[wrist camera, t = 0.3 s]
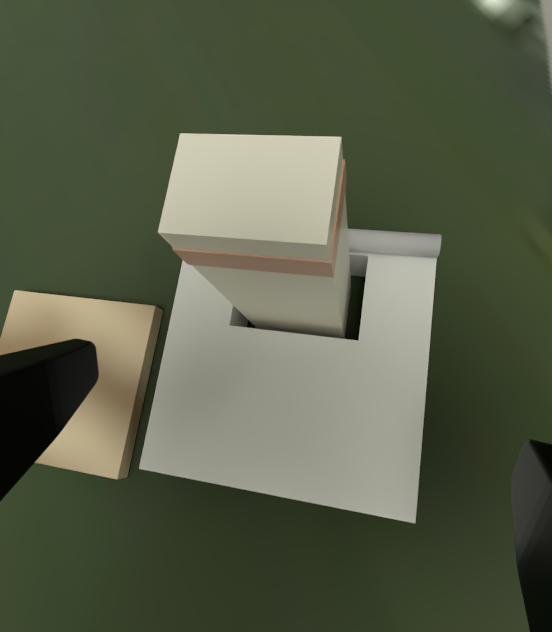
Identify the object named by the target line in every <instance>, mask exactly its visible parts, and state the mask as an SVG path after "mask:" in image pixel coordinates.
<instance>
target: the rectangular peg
mask: <svg viewBox="0 0 552 632" xmlns="http://www.w3.org/2000/svg"><path fill="white" fill-rule="evenodd" d="M345 189H346V168H345V160H343V153H342V139H341V137H323V136H275V135H227V134H180V137H179V141H178V146H177V150H176V155H175V159H174V163H173V168H172V172H171V177H170V181H169V185H168V190H167V194H166V199H165V203H164V208H163V212H162V216H161V221H160V225H159V230H158V233H159V234H160V235H161V236H162V237H163V238H164V239H165V240H166V241H167V242H168V243H169V244H170V245H171V246H172V247H173V251H174V252H175V253H176V254H177V255H178V256H179V257H180V258H181V259H182V260H184V261H185V262H186V263H187V264H188V265H192V266H193V267H194V268H195V269H196V270H197V271H198V272H199V273H200V274H201V275H202V276H203V277H204V278H205V279H207V280H208V281H209V282H210V283H211V284H212V285H213V286H214V287H215V288H216V289H217V290H218V291H219V292H220V293H221V294H222V295H223V296H224V297H225V298H226V299H227V300H228V301H229V302H230V303H231V304H232V305H234V306H235V307H236V308H237V309H238V310H239V311H240V312H241V313H242V314H243V315H244V316H245V317H246V318H247V319H248V320H249V321H250V322H251V323H252V324H253V325H254V326H255V327H256V328H257V329H264V330H272V331H281V332H289V333H298V334H307V335H315V336H324V337H332V338H341V339H345V333H346V325H347V317H348V309H349V301H350V293H351V272H350V257H349V242H348V227H347V213H346V198H345Z"/></svg>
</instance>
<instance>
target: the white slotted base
mask: <svg viewBox="0 0 552 632" xmlns="http://www.w3.org/2000/svg"><path fill="white" fill-rule="evenodd" d="M348 242H349V257H350V272H351V276H363V277H366V279H365V287H364V296H363V305H362V313H361V322H360V331H359V339H358V340H349V339H341V338H332V337H324V336H315V335H307V334H298V333H289V332H281V331H272V330H264V329H255V328H247V324H248V319H247V318H246V317H245V316H244V315H243V314H242V313H241V312H240V311H239V310H238V309H237V308H236V307H235V306H234V305H232V304H231V303H230V302H229V301H228V300H227V299H226V298H225V297H224V296H223V295H222V294H221V293H220V292H219V291H218V290H217V289H216V288H215V287H214V286H213V285H212V284H211V283H210V282H209V281H208V280H207V279H205V278H204V277H203V276H202V275H201V274H200V273H199V272H198V271H197V270H196V269H195V268H194V267H193V266H192V265H188V264H187V263H186V262H185V261H184V260H183V262H182V266H181V271H180V276H179V281H178V285H177V290H176V295H175V300H174V304H173V309H172V314H171V319H170V323H169V328H168V333H167V338H166V342H165V347H164V352H163V357H162V361H161V366H160V371H159V376H158V380H157V385H156V390H155V395H154V399H153V404H152V409H151V414H150V418H149V423H148V428H147V432H146V437H145V442H144V447H143V451H142V456H141V461H140V466H139V469H143V470H148V471H153V472H158V473H163V474H168V475H173V476H178V477H183V478H188V479H193V480H198V481H203V482H208V483H213V484H219V485H224V486H229V487H234V488H239V489H244V490H249V491H254V492H259V493H264V494H269V495H274V496H279V497H284V498H289V499H294V500H299V501H304V502H309V503H314V504H320V505H325V506H330V507H335V508H340V509H345V510H350V511H355V512H360V513H365V514H370V515H375V516H380V517H385V518H390V519H395V520H400V521H405V522H410V523H415V522H416V510H417V497H418V485H419V472H420V460H421V447H422V435H423V423H424V410H425V398H426V385H427V373H428V360H429V348H430V335H431V323H432V310H433V298H434V285H435V273H436V260H437V258H438V256H439V253H440V247H441V235H440V234H424V233H409V232H393V231H378V230H362V229H348Z"/></svg>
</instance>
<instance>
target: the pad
mask: <svg viewBox="0 0 552 632" xmlns="http://www.w3.org/2000/svg"><path fill="white" fill-rule="evenodd" d="M162 314H163V310H161V309H160V308H158V307H156V306H152V305H143V304H134V303H125V302H116V301H107V300H98V299H89V298H80V297H71V296H62V295H53V294H44V293H35V292H26V291H17V290H15V291H14V294H13V298H12V301H11V304H10V308H9V311H8V315H7V318H6V321H5V325H4V328H3V332H2V335H1V339H0V355H3V354H8V353H12V352H17V351H21V350H26V349H30V348H35V347H39V346H44V345H48V344H53V343H57V342H62V341H66V340H71V339H82V340H87V341H91V342H93V343H94V344H95V346H96V351H97V360H98V369H99V377H98V380H97V383H96V384H95V386H94V387H93V389H92V390H91V391H90V393H89V394H88V396H87V397H86V398H85V400H84V401H83V402H82V404H81V405H80V407H79V408H78V409H77V411H76V412H75V413H74V415H73V416H72V418H71V419H70V420H69V422H68V423H67V424H66V426H65V427H64V428H63V430H62V431H61V432H60V434H59V435H58V436H57V437H56V439H55V440H54V441H53V442H52V443H51V445H50V446H49V447H48V448H47V449H46V450H45V451H44V452H43V454H42V455H41V456H40V457H39V458H38V459H37V460H36V462H35V463H40V464H45V465H49V466H54V467H59V468H64V469H69V470H74V471H79V472H83V473H88V474H93V475H98V476H103V477H108V478H113V479H122V478H127V477H128V472H129V467H130V463H131V458H132V453H133V449H134V444H135V439H136V435H137V430H138V425H139V421H140V416H141V412H142V407H143V402H144V398H145V393H146V388H147V384H148V379H149V374H150V370H151V365H152V360H153V356H154V351H155V346H156V342H157V337H158V332H159V328H160V323H161V319H162Z"/></svg>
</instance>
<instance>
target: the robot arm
mask: <svg viewBox="0 0 552 632" xmlns="http://www.w3.org/2000/svg"><path fill="white" fill-rule="evenodd" d="M98 377H99V369H98V360H97V351H96V346H95V344H94V343H93V342H91V341H87V340H82V339H71V340H66V341H62V342H57V343H53V344H48V345H44V346H39V347H35V348H30V349H26V350H21V351H17V352H12V353H8V354H3V355H0V501H1V500H2V499H3V498H4V497H5V495H6V494H7V493H8V492H9V491H10V490H11V489H12V488H13V486H14V485H15V484H16V483H17V482H18V481H19V480H20V478H21V477H22V476H23V475H24V474H25V473H26V472H27V471H28V469H29V468H30V467H31V466H32V465H33V464H34V463H35V462H36V460H37V459H38V458H39V457H40V456H41V455H42V454H43V452H44V451H45V450H46V449H47V448H48V447H49V446H50V445H51V443H52V442H53V441H54V440H55V439H56V437H57V436H58V435H59V434H60V432H61V431H62V430H63V428H64V427H65V426H66V424H67V423H68V422H69V420H70V419H71V418H72V416H73V415H74V413H75V412H76V411H77V409H78V408H79V407H80V405H81V404H82V402H83V401H84V400H85V398H86V397H87V396H88V394H89V393H90V391H91V390H92V389H93V387H94V386H95V384H96V383H97V380H98ZM511 498H512V511H513V523H514V536H515V549H516V559H517V568H518V573H519V579H520V584H521V589H522V594H523V599H524V604H525V609H526V614H527V619H528V624H529V629H530V632H552V444H549V443H545V442H540V441H536V440H527V441H526V442H525V443H524V445H523V447H522V449H521V452H520V454H519V457H518V460H517V462H516V465H515V467H514V470H513V473H512V476H511Z"/></svg>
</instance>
